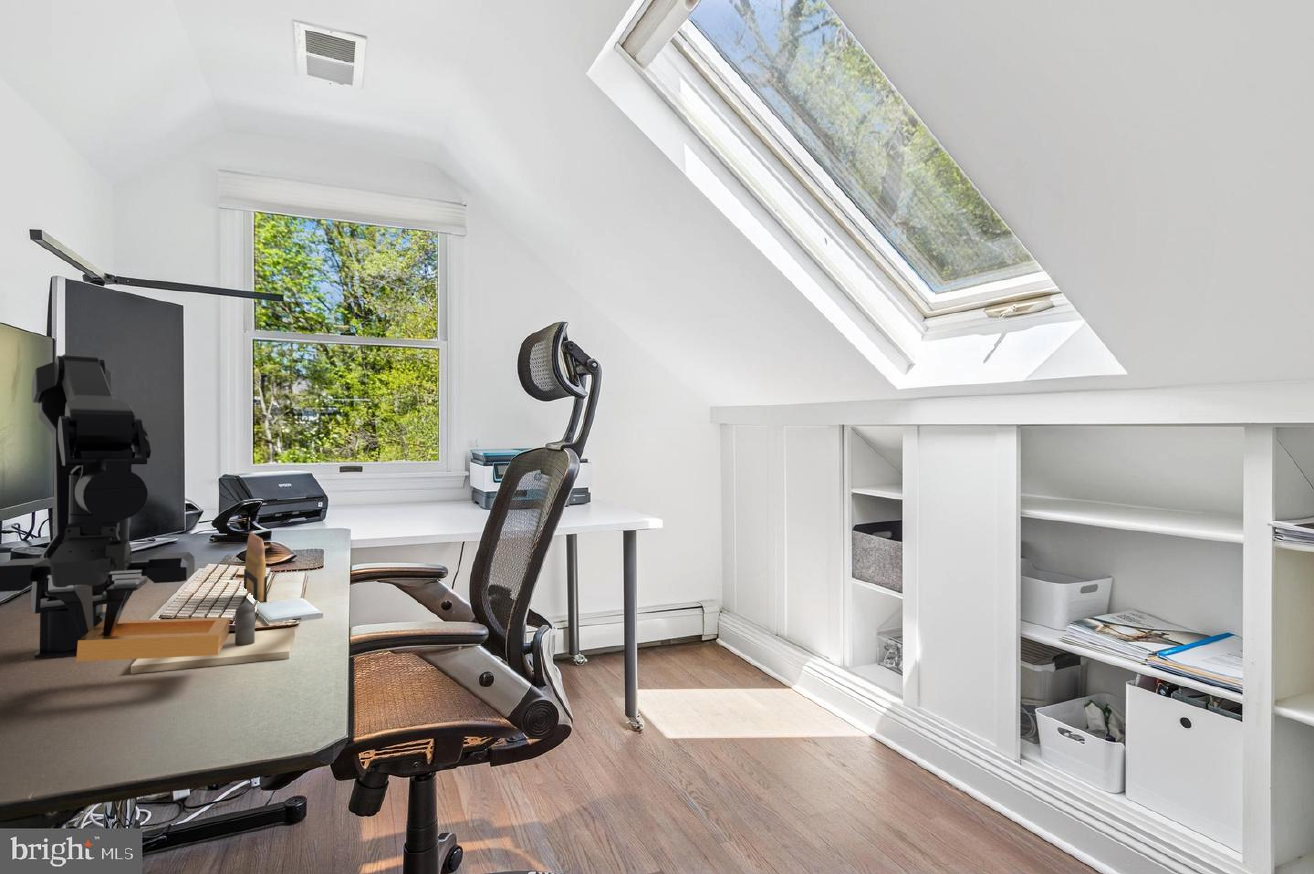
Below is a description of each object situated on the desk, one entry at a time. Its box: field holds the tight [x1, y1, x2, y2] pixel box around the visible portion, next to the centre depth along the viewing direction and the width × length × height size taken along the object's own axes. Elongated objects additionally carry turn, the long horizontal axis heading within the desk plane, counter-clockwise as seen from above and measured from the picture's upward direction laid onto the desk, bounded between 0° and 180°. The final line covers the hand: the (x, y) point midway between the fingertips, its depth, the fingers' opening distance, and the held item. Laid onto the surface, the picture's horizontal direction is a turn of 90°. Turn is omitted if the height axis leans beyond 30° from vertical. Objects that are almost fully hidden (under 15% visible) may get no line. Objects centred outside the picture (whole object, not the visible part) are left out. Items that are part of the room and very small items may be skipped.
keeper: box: [130, 602, 296, 675], centre depth 100 cm, size 18×12×7 cm, turn 114°
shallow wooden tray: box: [75, 617, 231, 663], centre depth 87 cm, size 14×9×2 cm, turn 114°
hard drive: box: [257, 597, 324, 623], centre depth 121 cm, size 2×8×12 cm
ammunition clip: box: [243, 531, 268, 603], centre depth 129 cm, size 11×2×12 cm, turn 40°
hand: (97, 642), depth 85 cm, fingers closed on shallow wooden tray, 1 cm apart
